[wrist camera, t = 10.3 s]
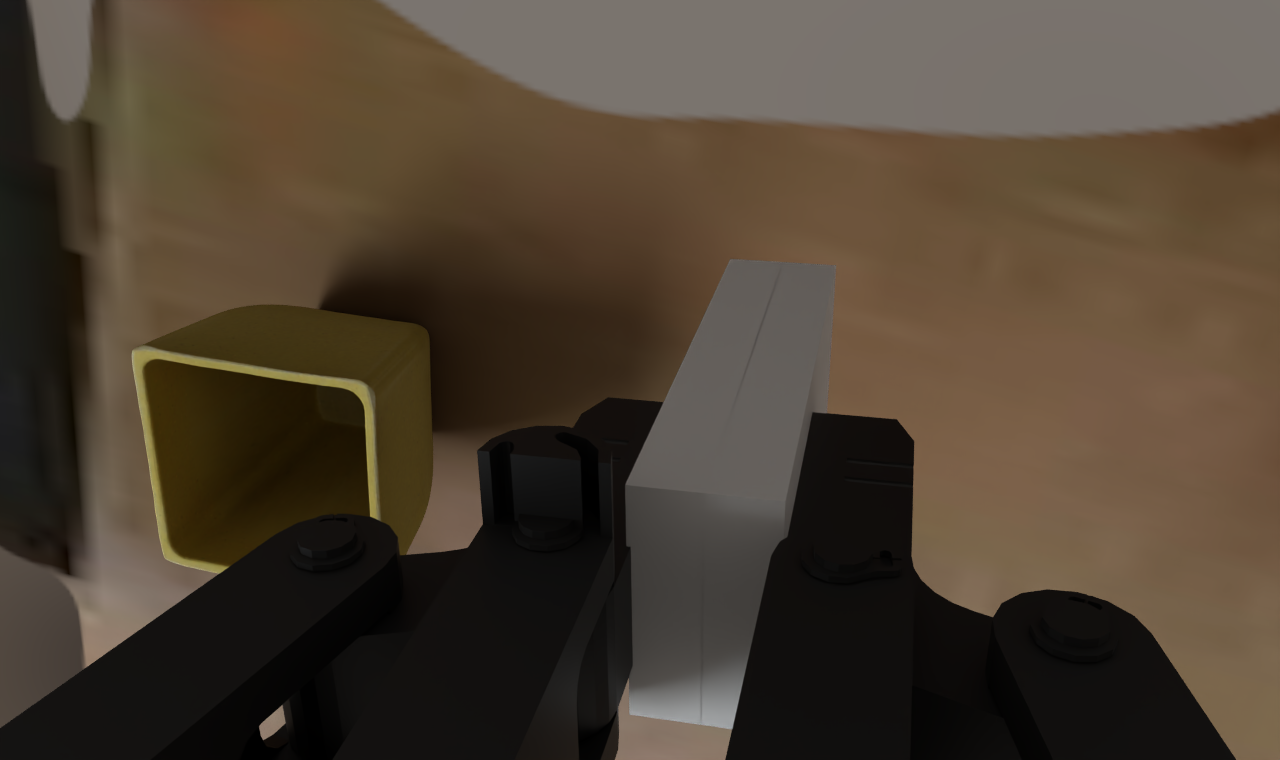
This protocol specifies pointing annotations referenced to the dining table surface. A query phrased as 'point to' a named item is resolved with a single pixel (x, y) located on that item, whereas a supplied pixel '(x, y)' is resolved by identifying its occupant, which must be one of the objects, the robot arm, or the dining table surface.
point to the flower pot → (283, 427)
